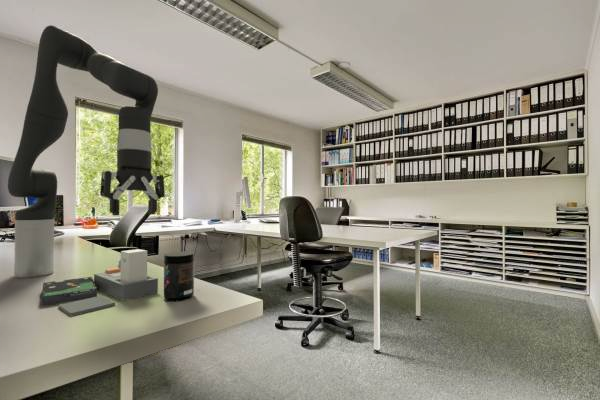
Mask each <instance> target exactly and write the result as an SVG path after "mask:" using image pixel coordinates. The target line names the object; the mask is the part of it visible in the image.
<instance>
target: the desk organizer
mask: <svg viewBox="0 0 600 400" xmlns="http://www.w3.org/2000/svg"><path fill="white" fill-rule="evenodd" d="M93 281H94V283H95V285H96V287H97V290H99V291H101V292H103V293H106V294H108V295H110V296H113V297H114V298H117V299H120V300H121V301H127V300H131V299H136V298H140V297H144V296H149V295H153V294H157V293H159V288H158V287H159V278H157V277H154V276H151V275H148V274H147V280H142V281H137V282H132V283H127V284H124V283H121V282H120V281H121V269H120V268H118V267H115V268H108V269H107V268H106V269H105V270H104V271H103V272H97V273H94V274H93Z"/></svg>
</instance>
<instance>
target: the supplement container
mask: <svg viewBox="0 0 600 400" xmlns="http://www.w3.org/2000/svg"><path fill="white" fill-rule="evenodd" d="M194 294H195V252H193V251H173V252H172V251H171V252H166V253H164V254H163V298H164V300H165V301H167V302H183V301H186V300H189V299H191V298H193V296H194Z"/></svg>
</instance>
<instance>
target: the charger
mask: <svg viewBox="0 0 600 400" xmlns="http://www.w3.org/2000/svg"><path fill="white" fill-rule="evenodd" d="M120 259H121V281H120V282H121V283H124V284H127V283H132V282H137V281H142V280H147V275H148V250H145V249H139V248H136V249H128V250H121V251H120Z"/></svg>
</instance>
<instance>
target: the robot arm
mask: <svg viewBox="0 0 600 400" xmlns="http://www.w3.org/2000/svg"><path fill="white" fill-rule="evenodd" d="M38 42H39V44H38V50H37V57H36V58H37V59H36V66H35V68H36V69H35V74H34V79H33V85H32V88H31V89H32V90H31V94H30V97H29V100H28V104H27V107H26V112H25V116H24V121H23V126H22V127H23V128H22V132H21V137H20V140H19V145H18V148H17V151H16V154H15V157H14V160H13V162H12V166H11V169H10V172H9V174H8V175H9V176H8V180H7V190H8V193H9V194H10V196H12V197H15V198H30V199H32V198H33V199H36V198H37V201H36V202H35V203H34V204H32V205H30V206H27V207H24V208H21V209H18V210H16V211H15V213H14V258H13V259H14V263H13V264H14V265H13V266H14V269H13V271H14V272H13V277H14V278H33V277H34V278H35V277H40V276H47V275H50V274H53V273H54V269H55V268H54V265H55V264H54V261H55V212H56V207H57V196H58V194H57V193H58V192H57V191H58V178H57V175H56V173H55V172H54V171H53V170H51V169H45V168H37V167H35V168H34V167H33V166H34V165H35V163H36V160H37V159H38V158H39V157H40V155H41V154H42V153H43V152H44V151H46V150H47V149H49V147H51V146H52V145H54V143H56V142H57V141H58V140H59V139H60V138H61V137H62V136H63V134H64V132H65V129H66V127H67V126H66V125H67V122H68V116H69V110H68V107H67V104H66V101H65V99H64V97H63V95H62V92H61V90H60V87H59V85H58V81H57V70H58V65H62V66H64V67H68V68H70V69H73V70H78V71H82V72H87V73H89V74H90V75H91V76H92V77H93V78H94V79H96V80H97V81H99V82H101V83H102V84H104V85H106V86H108V87H109V89H111V91H113V92H114V93H117V94H119V95H121V96H123V97H126V98H129V99H132V100H135V104H134V105H125V106H122V107H120V109H119V111H118V131H117V139H116V140H117V141H116V142H117V143H116V144H117V147H116V168H117V169H116V171H115V172H113V171H110V170H105V171H102V172H101V181H100V190H99V191H100V193H99V195H100V197H103V198H107V199H109V212H110V214H112V216H120V199H119V198H120V196H121V195H122V194H123V193H125V192H126V191H137V192H140V191H142V193H143V194H144V195H145V196H146V197H147V198H148V201H147V202H148V203H147V205H148V207H147V211H148V215H155V214H156V212H157V211H158V200H159V199H161V198H164V197H165V181H164V178H165V177H164V175H162V174H158V175H153V174H152V151H153V148H152V145H153V144H152V136H151V130H152V129H151V123H152V122H151V119H152V115H153V112H154V107H155V104H156V101H157V99H158V95H159V88H158V84H157V82H156V80H155V79H154V78H153V77H152V76H150V75H149V74H146V73H144V72H142V71H140V70H138V69H135V68H133V67H131V66H129V65H126V64H124V63H123V62H121V61H119V60H117V59H115V58H113V57H112V56H110V55H107V54H104V53H101V52H100V51H98V50H97V49H96V48H94V47H93V46H92V45H91V44H89V43H88V42H87V41H86V40H85V39H83V38H81V36H78V35H76V34H73V33H71V32H69V31H67V30H64V29H62V28H60V27H57V26H55V25H51V24H50V25H48V26H45V28H44V29H43V30H42V33H41V35H40V38H39V41H38ZM114 179H116V181H117V182H118V183H117V185H116V186H115V187H114V189H113V191H112V192H111V188H112V186H111V185H112V181H114ZM152 181H153V184H154V188H153V186H152V185H151V182H152ZM154 190H155V191H154Z"/></svg>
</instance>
